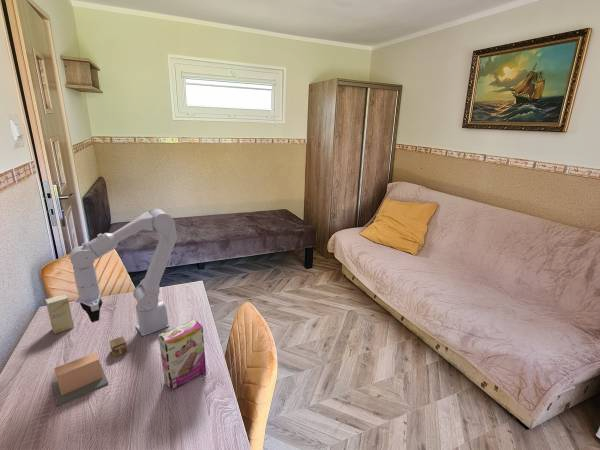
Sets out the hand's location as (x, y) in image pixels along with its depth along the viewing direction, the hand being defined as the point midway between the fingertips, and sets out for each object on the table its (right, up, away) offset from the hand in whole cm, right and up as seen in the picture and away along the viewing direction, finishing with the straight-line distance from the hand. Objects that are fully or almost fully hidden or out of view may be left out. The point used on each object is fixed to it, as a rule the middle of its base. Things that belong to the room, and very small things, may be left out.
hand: (95, 320), depth 107 cm
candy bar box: (+34, -14, -10) cm, 38 cm away
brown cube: (+8, -10, 0) cm, 13 cm away
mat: (+5, -14, -14) cm, 20 cm away
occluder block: (+5, -14, -14) cm, 20 cm away
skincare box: (-19, -6, +11) cm, 23 cm away
